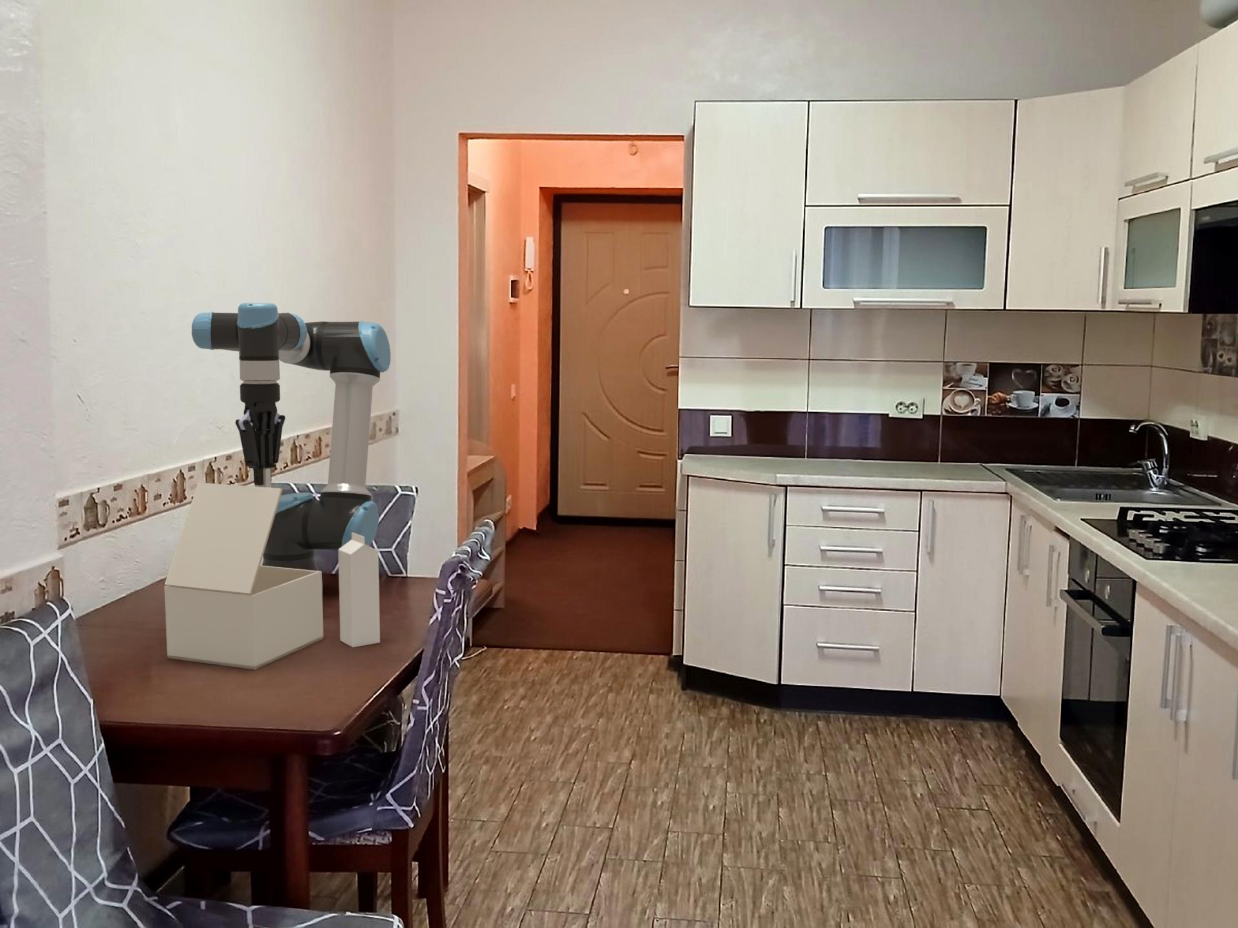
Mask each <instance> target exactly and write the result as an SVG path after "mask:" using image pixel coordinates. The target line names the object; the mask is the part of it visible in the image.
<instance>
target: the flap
mask: <svg viewBox="0 0 1238 928" xmlns="http://www.w3.org/2000/svg"><path fill="white" fill-rule="evenodd" d="M283 491H284V490H283V488H281V487H280V488H279V487H271V488H269V487H255V485H254V486H253V485H240V484H239V485H238V484H227V483H226V484H224V483H212V482H211V483H209V482H197V485H196V488H195V491H194V494H193V497H192V500H191V504H190V507H189V509H188V512H187V516H186V517H185V521H184V524H183V527H182V531H181V533H180V536H179V539H178V543H177V546H176V548H175V551H174V555H173V557H172V561H171V564H170V567H169V570H168V574H167V576H166V578H165V582H164V586H168V585H170V586H179V587H188V588H198V589H207V590H216V591H226V592H235V593H244V594H252V590H253V587H254V584H255V580H256V577H257V574H258V570H259V567H260V565H262V564H261V563H262V561H263V554H264V551H265V547H266V544H267V541H268V537H269V534H270V531H271V527H272V524H273V521H274V517H275V514H276V511H277V507H278V504H279V501H280V497H281V495H282V494H283Z"/></svg>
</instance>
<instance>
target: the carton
mask: <svg viewBox="0 0 1238 928" xmlns="http://www.w3.org/2000/svg"><path fill="white" fill-rule="evenodd" d="M322 575H323V574H322V571H321V570H319V571H313V570H302V569H292V568H282V567H271V566H262V564H260V567H259V570H258V574H257V577H256V580H255V584H254V587H253V590H252V594H244V593H235V592H226V591H216V590H207V589H198V588H188V587H179V586H170V585H164V606H165V609H164V610H165V633H166V652H167V653H166V656H167V659H170V660H171V659H172V660H178V661H179V660H180V661H187V662H192V663H193V662H194V663H199V664H200V663H201V664H202V663H203V664H208V665H216V666H224V667H233V668H240V669H245V670H254V671H256V670H258V669H260V668H262V667H264V666H267V665H269V664H272V663H273V662H275V661H278V660H280V659H282V658H285V657H287V656H288V655H291V654H294V653H296V652H297V651H300V650H302V649H304V648H306V647H309V646H310V645H311V646H312V645H313V644H315V643H317V642H319V641H322V640H324V620H323V619H324V617H323V616H324V615H323V613H324V612H323V590H322V581H323V579H322V578H323V577H322Z"/></svg>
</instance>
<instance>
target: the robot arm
mask: <svg viewBox="0 0 1238 928" xmlns="http://www.w3.org/2000/svg"><path fill="white" fill-rule="evenodd" d="M278 311H279V310H278V307H277V305H276V304H275V303H272V302H269V303H268V302H264V303H263V302H242V303H240V304H239V306H238V308H237V312H214V311H210V312H200V313H197V315H195V316H194V318H193V320H192V323H191V336H192V337H191V338H192V341H193V342H194V344H195V346H196V347H198V348H199V349H201V350H202V349H203V350H211V351H213V350H221V351H222V350H225V351H232V352H238V355H239V356H238V360H239V380H240V381H242V382H241V383H240V385H239V398H240V401H241V403H243V404H244V408H243V409H244V410H243V416H242V417H241V418H240V419H239V418H238V419H235V422H234V423H235V426H236V429H237V430H238V433H239V438H240V443H241V447H242V448H241V449H242V454H243V458H244V464H245V466H246V467H248V469H252V470H253V485H254V486H255V487H269V488H272V481H273V480H272V468H273V469H274V468H276V467H277V464H278V463H279V458H280V451H281V442H282V435H283V434H282V433H283V427H284V424H285V422H286V416H285V415H283V414H279V412H278V407H277V403H278V402H279V401H280V400H281V385H280V384H279V383H278V382H277V381H279V380H280V379H281V375H280V374H281V373H280V372H281V371H280V362H282V363H284V364H288V365H289V364H290V365H293V366H294V365H295V366H297V367H302V368H306V369H312V370H317V371H328V372H329V378H330V379H331V380H332V381H333V383H335V388H334V389H335V390H334V401H333V413H332V414H333V415H332V425H331V440H330V441H331V442H330V451H329V462H328V463H329V467H328V477H327V478H328V479H327V485H326V486H325V487H324V488H323V489H321V490H320V494H319V495H320V496H319V499H314V498H315V497H314V495H313V493H312V492H304V491H303V492H296V493H295V492H293V493H287V494H283V495H282V494H281V497H280V501H279V504H278V507H277V511H276V514H275V517H274V521H273V524H272V527H271V531H270V534H269V537H268V541H267V544H266V547H265V551H264V554H263V557H262V562H261V563H262V564H261V566H271V567H282V568H292V569H302V570H313V571H320V570H319V567H318V565H317V562H316V558H315V550H318V551H334V552H336V551H337V552H338V549H340V548H341V547H342V546H344V545H345V544H346V543H348V542H349V541H350V540H352V532H353V533H356V534H358V535H361V536H364V538H365V545H367V546H369V547H371V546H370V545H372V543H373V541H374V540H375V538H376V535H377V531H378V527H379V522H380V514H379V506H378V505H377V503H376V502H374V501H372V493H370V491H369V490H368V489H367V488H366V482H367V470H368V469H367V468H368V455H369V443H370V442H369V441H370V427H371V417H372V416H371V415H372V401H373V388H374V386H375V385H377V384H378V383H379V382H380V381H381V379H380V378H381V373H385V372H387V371H388V369H390V365H391V357H392V355H391V348H390V347H391V345H390V341H389V338H388V335H387V332H386V331H385V329H384V328H383V326H382V325H381V324H380V323H376V322H368V321H364V320H363V321H362V320H360V321H310V322H309V321H308V322H305V321H304V320H303V318H301V317H300V316H299V315H297V314H294V313H290V312H278ZM323 590H324V583H323V580H322V591H323Z"/></svg>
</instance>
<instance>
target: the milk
mask: <svg viewBox="0 0 1238 928" xmlns="http://www.w3.org/2000/svg"><path fill="white" fill-rule="evenodd" d="M337 553H338V555H337V557H338V592H339V593H338V595H339V596H338V597H339V598H338V599H339V638H340V639H339V640H340V642H343V643H344V644H345V645H348V646H349V647H351V648H357V647H364V646H367V645H369V646H370V645H373V644H379V643H381V628H380V627H381V626H380V625H381V624H380V620H381V619H380V578H379V577H380V576H379V575H380V574H379V573H380V571H379V570H380V567H379V550H377V549H376V548H374V547H371V546H367V545H365V538H364V536H361V535H358V534H356V533H353V532H352V540H350V541H349V542H348V543H346V544H345V545H344V546H342V547H341V548H340V549H338V551H337Z"/></svg>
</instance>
